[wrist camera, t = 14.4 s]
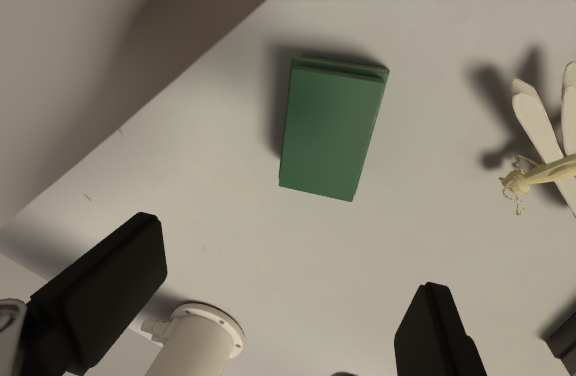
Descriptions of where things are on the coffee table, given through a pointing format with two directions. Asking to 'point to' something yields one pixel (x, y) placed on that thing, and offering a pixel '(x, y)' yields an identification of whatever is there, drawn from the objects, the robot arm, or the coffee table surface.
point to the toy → (546, 139)
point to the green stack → (341, 67)
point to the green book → (328, 130)
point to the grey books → (565, 345)
